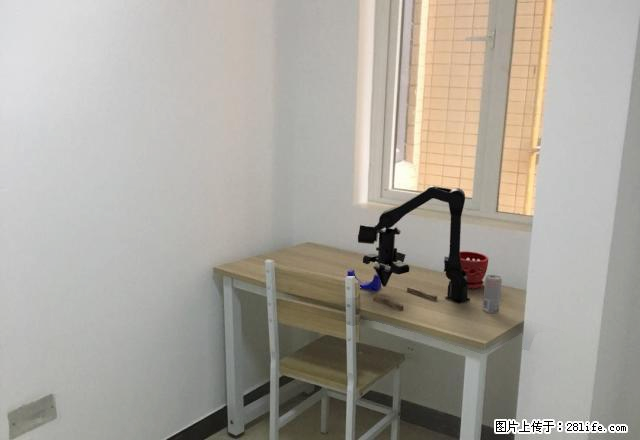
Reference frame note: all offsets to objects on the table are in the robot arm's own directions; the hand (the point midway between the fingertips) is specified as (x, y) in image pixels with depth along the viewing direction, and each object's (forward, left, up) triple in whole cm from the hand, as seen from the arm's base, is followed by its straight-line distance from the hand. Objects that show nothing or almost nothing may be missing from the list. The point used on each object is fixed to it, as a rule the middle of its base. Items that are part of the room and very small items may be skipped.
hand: (384, 286), depth 218 cm
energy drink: (-35, -16, -2) cm, 39 cm away
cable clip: (+9, +2, -3) cm, 9 cm away
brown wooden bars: (-10, 0, -2) cm, 11 cm away
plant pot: (-13, -33, -2) cm, 36 cm away
